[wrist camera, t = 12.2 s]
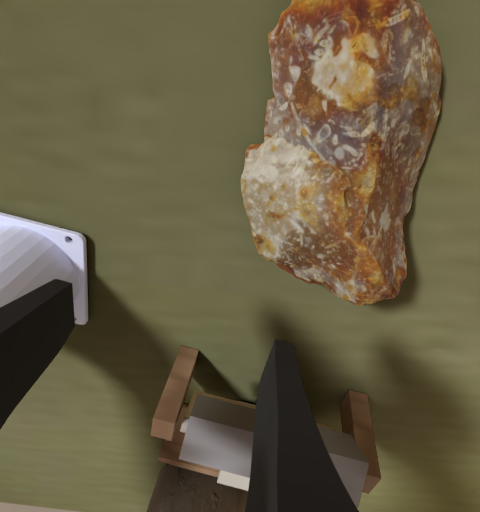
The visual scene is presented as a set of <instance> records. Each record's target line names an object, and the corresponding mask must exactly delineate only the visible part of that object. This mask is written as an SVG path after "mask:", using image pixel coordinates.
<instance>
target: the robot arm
mask: <svg viewBox="0 0 480 512" xmlns="http://www.w3.org/2000/svg"><path fill="white" fill-rule="evenodd" d="M68 236H69V237H71V238H72V240H70V239H69V238H68ZM87 321H88V287H87V248H86V238H85V237H84V236H83V235H82V234H81V233H78V232H74V231H70V230H67V229H63V228H59V227H55V226H51V225H47V224H44V223H40V222H36V221H32V220H28V219H24V218H21V217H17V216H13V215H9V214H5V213H1V212H0V429H1V428H2V426H3V424H4V423H5V421H6V420H7V418H8V417H9V416H10V414H11V413H12V411H13V410H14V409H15V407H16V406H17V405H18V403H19V402H20V401H21V400H22V398H23V397H24V396H25V395H26V393H27V392H28V391H29V389H30V388H31V387H32V386H33V384H34V383H35V382H36V381H37V379H38V378H39V377H40V376H41V374H42V373H43V372H44V371H45V369H46V368H47V367H48V365H49V364H50V363H51V362H52V360H53V359H54V358H55V356H56V355H57V354H58V352H59V351H60V350H61V348H62V346H63V345H64V343H65V342H66V340H67V338H68V337H69V335H70V333H71V331H72V330H73V328H74V326H75V323H76V324H79V325H84V324H86V322H87ZM245 512H359V511H358V509H357V507H356V506H355V504H354V502H353V500H352V498H351V497H350V495H349V493H348V491H347V489H346V488H345V486H344V484H343V482H342V480H341V478H340V476H339V474H338V472H337V470H336V468H335V466H334V464H333V462H332V459H331V457H330V455H329V453H328V451H327V448H326V446H325V444H324V441H323V439H322V436H321V434H320V432H319V429H318V426H317V424H316V421H315V418H314V416H313V413H312V410H311V407H310V404H309V401H308V397H307V394H306V391H305V388H304V384H303V381H302V377H301V373H300V369H299V365H298V361H297V356H296V350H295V346H294V345H293V344H292V343H288V342H285V341H281V340H278V339H275V341H274V344H273V347H272V349H271V352H270V355H269V357H268V360H267V363H266V365H265V368H264V371H263V373H262V376H261V380H260V386H259V391H258V396H257V402H256V409H255V421H254V434H253V447H252V460H251V472H250V481H249V489H248V495H247V501H246V507H245Z"/></svg>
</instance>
